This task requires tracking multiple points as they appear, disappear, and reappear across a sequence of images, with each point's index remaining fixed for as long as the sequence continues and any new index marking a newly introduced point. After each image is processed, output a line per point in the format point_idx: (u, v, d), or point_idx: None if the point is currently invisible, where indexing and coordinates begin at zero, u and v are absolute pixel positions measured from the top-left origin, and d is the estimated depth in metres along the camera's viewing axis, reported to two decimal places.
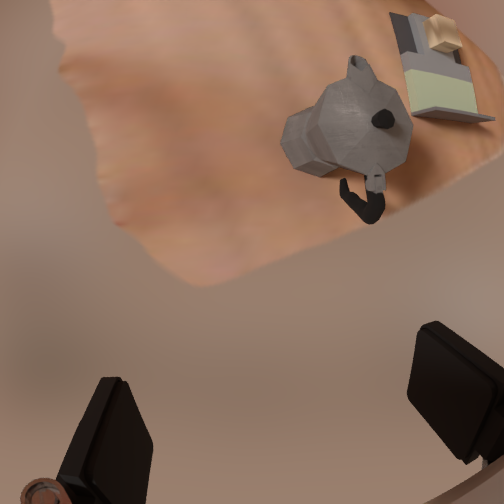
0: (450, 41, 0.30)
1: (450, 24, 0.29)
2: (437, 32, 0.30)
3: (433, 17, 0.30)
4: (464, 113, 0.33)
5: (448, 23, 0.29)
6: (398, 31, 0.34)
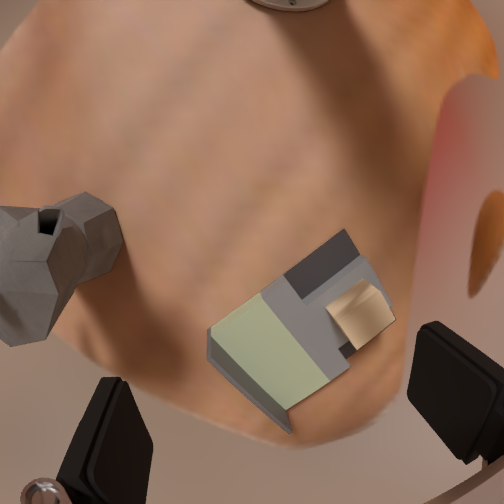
0: (348, 330, 0.28)
1: (381, 318, 0.28)
2: (350, 307, 0.29)
3: (373, 290, 0.28)
4: (247, 396, 0.28)
5: (381, 314, 0.28)
6: (320, 254, 0.32)
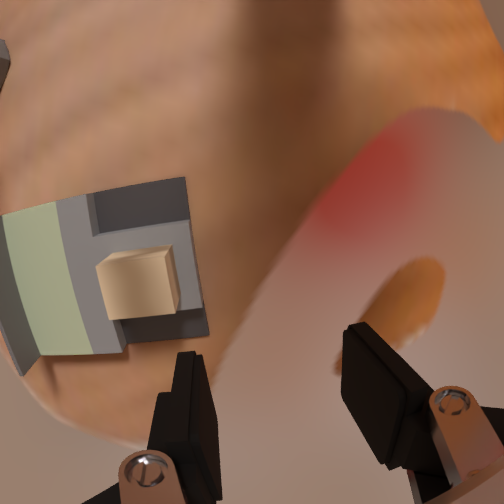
0: (104, 283, 0.20)
1: (154, 297, 0.20)
2: (123, 258, 0.20)
3: (162, 254, 0.20)
4: None
5: (155, 291, 0.20)
6: (141, 190, 0.24)
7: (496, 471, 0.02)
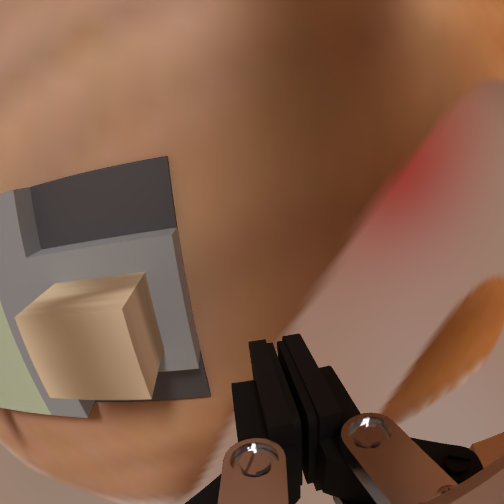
0: (31, 345, 0.10)
1: (112, 374, 0.10)
2: (59, 303, 0.10)
3: (121, 299, 0.11)
4: None
5: (112, 365, 0.10)
6: (98, 181, 0.14)
7: (496, 471, 0.02)
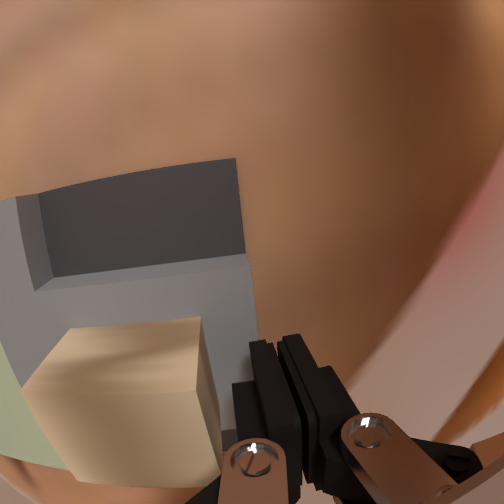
0: (48, 426, 0.06)
1: (172, 463, 0.07)
2: (85, 371, 0.07)
3: (185, 369, 0.07)
4: None
5: (173, 454, 0.07)
6: (136, 188, 0.11)
7: (496, 471, 0.02)
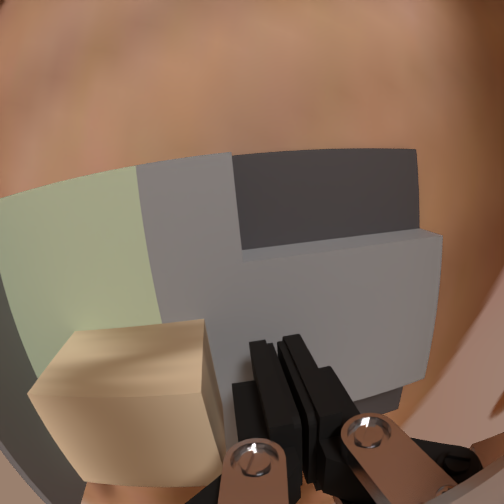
0: (55, 428, 0.06)
1: (177, 463, 0.07)
2: (91, 373, 0.07)
3: (189, 371, 0.07)
4: None
5: (179, 454, 0.07)
6: (342, 163, 0.11)
7: (496, 471, 0.02)
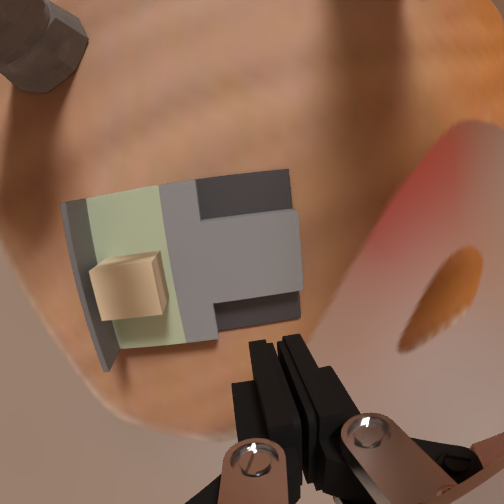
0: (96, 287, 0.21)
1: (142, 299, 0.22)
2: (114, 264, 0.22)
3: (149, 259, 0.22)
4: (77, 281, 0.21)
5: (143, 294, 0.21)
6: (247, 179, 0.26)
7: (496, 471, 0.02)
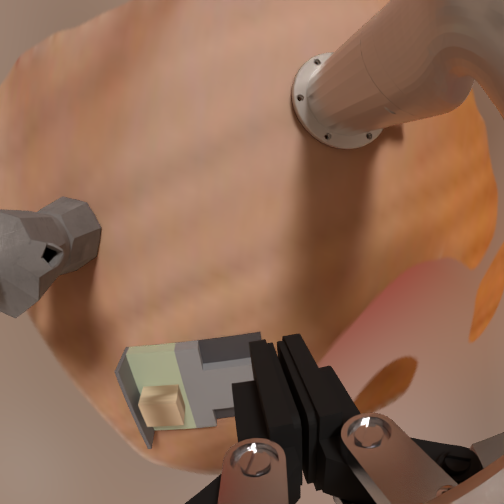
0: (143, 412, 0.34)
1: (171, 418, 0.34)
2: (152, 399, 0.34)
3: (174, 398, 0.35)
4: (130, 408, 0.33)
5: (172, 416, 0.34)
6: (232, 341, 0.39)
7: (496, 471, 0.02)
